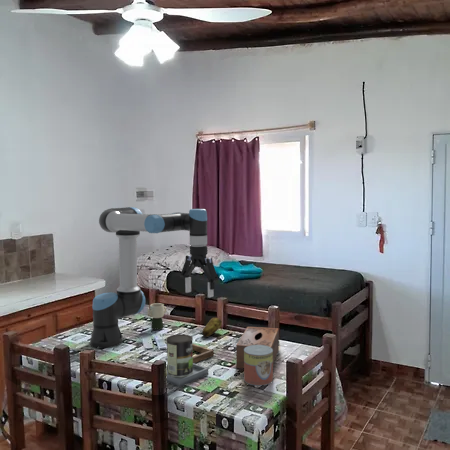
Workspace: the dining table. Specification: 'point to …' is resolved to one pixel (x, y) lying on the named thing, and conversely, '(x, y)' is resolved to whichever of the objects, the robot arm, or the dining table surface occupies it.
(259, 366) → the canned food
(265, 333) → the tissue box cover
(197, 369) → the tray
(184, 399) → the dining table surface
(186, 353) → the coffee can
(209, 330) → the potato
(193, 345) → the holder frame
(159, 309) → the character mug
